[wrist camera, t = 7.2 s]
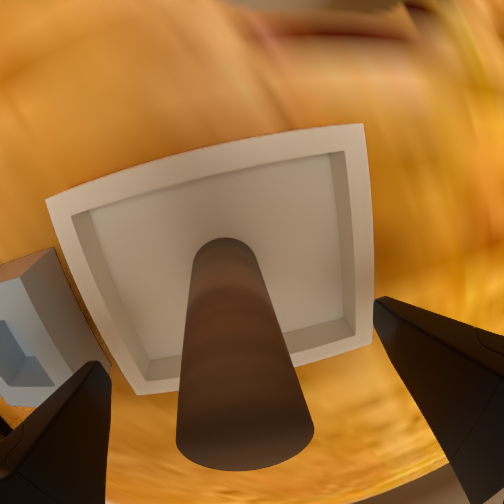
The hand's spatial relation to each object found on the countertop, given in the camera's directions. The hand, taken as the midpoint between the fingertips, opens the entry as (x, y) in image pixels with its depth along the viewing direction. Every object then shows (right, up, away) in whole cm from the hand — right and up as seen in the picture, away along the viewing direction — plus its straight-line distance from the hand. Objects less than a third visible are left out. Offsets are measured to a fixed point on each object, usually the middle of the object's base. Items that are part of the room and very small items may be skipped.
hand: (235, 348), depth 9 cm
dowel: (-1, +2, +5) cm, 6 cm away
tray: (-1, +2, +6) cm, 6 cm away
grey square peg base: (-13, -1, +6) cm, 14 cm away
